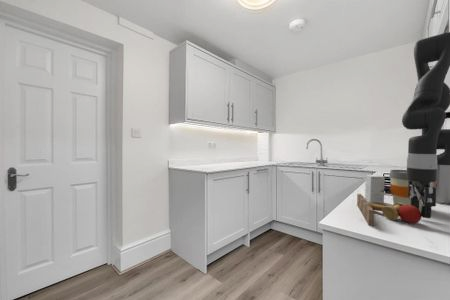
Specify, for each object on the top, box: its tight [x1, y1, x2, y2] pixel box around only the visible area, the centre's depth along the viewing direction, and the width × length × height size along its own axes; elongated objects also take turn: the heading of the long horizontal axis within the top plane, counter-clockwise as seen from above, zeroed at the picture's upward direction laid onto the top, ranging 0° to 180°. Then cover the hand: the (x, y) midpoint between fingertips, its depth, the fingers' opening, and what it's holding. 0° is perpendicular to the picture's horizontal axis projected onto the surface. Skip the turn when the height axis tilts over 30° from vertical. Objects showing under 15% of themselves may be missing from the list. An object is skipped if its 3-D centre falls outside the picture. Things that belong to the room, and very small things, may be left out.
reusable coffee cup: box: [389, 169, 422, 211], centre depth 87 cm, size 12×13×15 cm
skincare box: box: [364, 174, 386, 204], centre depth 94 cm, size 6×4×12 cm
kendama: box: [368, 202, 423, 224], centre depth 76 cm, size 8×6×18 cm
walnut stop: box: [356, 193, 375, 227], centre depth 78 cm, size 24×1×5 cm, turn 155°
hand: (419, 213), depth 71 cm, fingers open, 8 cm apart
